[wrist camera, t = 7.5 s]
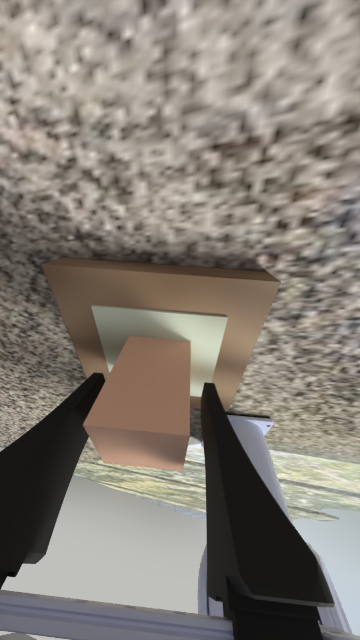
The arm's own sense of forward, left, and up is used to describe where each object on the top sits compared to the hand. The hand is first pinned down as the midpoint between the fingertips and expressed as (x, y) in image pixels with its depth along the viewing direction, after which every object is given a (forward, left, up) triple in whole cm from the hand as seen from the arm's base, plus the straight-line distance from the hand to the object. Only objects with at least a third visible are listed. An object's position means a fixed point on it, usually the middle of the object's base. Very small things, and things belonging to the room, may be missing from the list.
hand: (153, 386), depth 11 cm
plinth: (0, 0, -5) cm, 5 cm away
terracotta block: (0, 0, -2) cm, 2 cm away
